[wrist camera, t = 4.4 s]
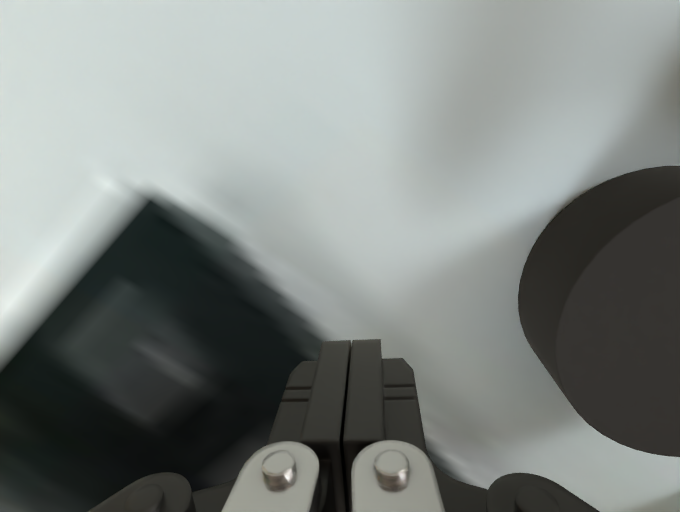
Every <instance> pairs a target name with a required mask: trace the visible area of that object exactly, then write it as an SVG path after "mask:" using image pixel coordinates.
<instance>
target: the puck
mask: <svg viewBox="0 0 680 512" xmlns="http://www.w3.org/2000/svg"><path fill="white" fill-rule="evenodd" d="M518 309H519V316H520V321H521V325H522V328H523V331H524V334H525V337H526V339H527V341H528V342H529V344H530V346H531V348H532V349H533V351H534V352H535V354H536V355H537V357H538V358H539V359H540V361H541V362H542V364H543V365H544V367H545V368H546V369H547V371H548V372H549V374H550V375H551V376H552V378H553V379H554V381H555V382H556V384H557V385H558V386H559V388H560V389H561V391H562V392H563V394H564V395H565V396H566V398H567V399H568V401H569V402H570V403H571V405H572V406H573V407H574V409H575V410H576V411H577V413H578V414H579V415H580V416H581V417H582V418H583V419H584V420H585V421H586V422H587V423H588V424H589V425H590V426H592V427H593V428H594V429H596V430H597V431H599V432H600V433H601V434H603V435H604V436H606V437H608V438H610V439H612V440H614V441H616V442H617V443H620V444H622V445H625V446H627V447H630V448H633V449H635V450H639V451H643V452H647V453H651V454H657V455H664V456H674V457H680V166H663V167H655V168H648V169H643V170H639V171H635V172H631V173H627V174H624V175H621V176H619V177H616V178H614V179H611V180H608V181H606V182H604V183H602V184H600V185H599V186H597V187H595V188H593V189H591V190H589V191H588V192H586V193H585V194H583V195H582V196H580V197H579V198H577V199H576V200H574V201H573V202H572V203H571V204H570V205H568V206H567V207H566V208H565V209H564V210H562V211H561V212H560V213H559V214H558V215H557V216H556V217H555V218H554V219H553V221H552V222H551V223H550V224H549V225H548V226H547V227H546V229H545V230H544V231H543V233H542V234H541V235H540V237H539V238H538V240H537V241H536V243H535V245H534V247H533V248H532V250H531V252H530V254H529V256H528V259H527V261H526V263H525V266H524V269H523V273H522V276H521V280H520V286H519V294H518Z"/></svg>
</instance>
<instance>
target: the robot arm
mask: <svg viewBox="0 0 680 512" xmlns="http://www.w3.org/2000/svg"><path fill="white" fill-rule="evenodd" d="M88 512H599V511H598V510H596V509H595V508H593V507H592V506H590V505H589V504H587V503H586V502H584V501H583V500H581V499H580V498H578V497H577V496H575V495H574V494H572V493H571V492H569V491H568V490H566V489H565V488H563V487H562V486H560V485H559V484H557V483H555V482H553V481H551V480H549V479H547V478H544V477H541V476H538V475H534V474H529V473H512V474H507V475H504V476H502V477H500V478H498V479H497V480H495V481H494V482H493V483H492V484H491V486H490V487H489V489H488V490H487V489H484V488H480V487H476V486H473V485H469V484H466V483H463V482H460V481H457V480H455V479H453V478H451V477H449V476H448V475H446V474H445V473H443V472H442V471H441V470H440V469H438V468H437V466H436V465H435V464H434V463H433V462H432V460H431V459H430V457H429V455H428V453H427V449H426V445H425V439H424V433H423V427H422V421H421V414H420V408H419V402H418V396H417V390H416V384H415V378H414V372H413V369H412V368H411V367H410V366H409V365H408V364H407V363H406V361H405V360H404V359H403V358H394V359H382V353H381V339H370V340H353V341H352V345H351V340H343V341H322V344H321V348H320V353H319V357H318V361H302V362H301V363H300V364H299V365H298V366H297V367H296V368H295V369H294V370H293V371H292V372H291V373H290V376H289V379H288V382H287V385H286V390H285V391H284V394H283V397H282V402H281V403H280V406H279V409H278V412H277V415H276V418H275V421H274V424H273V427H272V430H271V433H270V436H269V439H268V442H267V445H266V446H265V447H263V448H261V449H259V450H258V451H257V452H255V453H254V454H253V455H252V456H251V457H250V458H249V459H248V460H247V461H246V462H245V464H244V466H243V467H242V469H241V471H240V473H239V476H238V478H236V479H234V480H232V481H229V482H227V483H224V484H220V485H217V486H213V487H209V488H206V489H202V490H199V491H195V492H192V491H191V487H190V484H189V482H188V481H187V479H186V478H184V477H183V476H182V475H179V474H177V473H172V472H162V473H156V474H151V475H149V476H146V477H143V478H141V479H139V480H137V481H135V482H133V483H131V484H130V485H128V486H127V487H125V488H123V489H122V490H120V491H119V492H117V493H116V494H114V495H113V496H111V497H109V498H108V499H106V500H105V501H103V502H102V503H100V504H99V505H97V506H95V507H94V508H92V509H91V510H89V511H88Z"/></svg>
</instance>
